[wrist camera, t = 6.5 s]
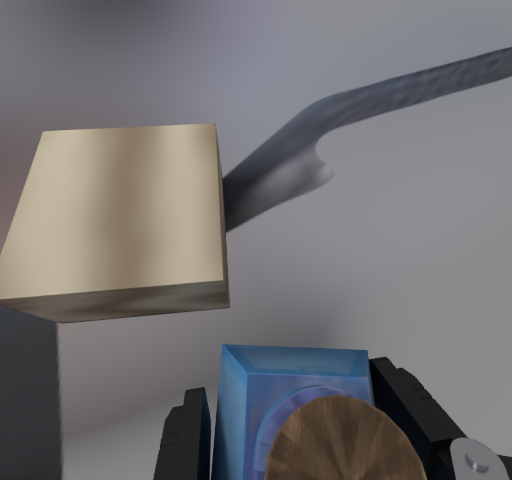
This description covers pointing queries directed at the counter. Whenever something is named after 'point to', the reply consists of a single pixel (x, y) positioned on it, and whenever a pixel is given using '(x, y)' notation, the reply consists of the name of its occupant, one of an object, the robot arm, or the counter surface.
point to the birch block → (119, 226)
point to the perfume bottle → (304, 418)
